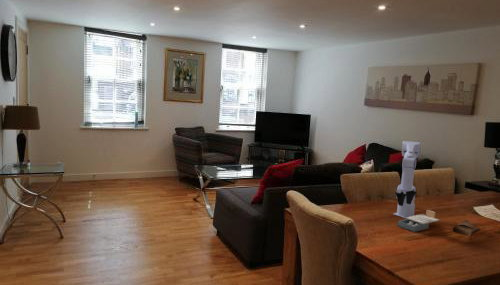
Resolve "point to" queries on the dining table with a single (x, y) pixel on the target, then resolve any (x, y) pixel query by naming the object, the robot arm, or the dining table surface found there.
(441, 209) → the dining table surface
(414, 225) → the tub
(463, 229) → the sunglasses case
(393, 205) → the dining table surface
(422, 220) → the lid
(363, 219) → the dining table surface
